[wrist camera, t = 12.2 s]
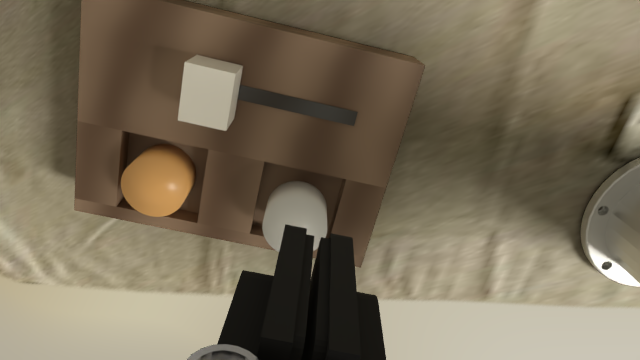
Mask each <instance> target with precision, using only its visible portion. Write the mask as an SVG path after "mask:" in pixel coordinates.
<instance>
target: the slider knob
mask: <svg viewBox="0 0 640 360" xmlns="http://www.w3.org/2000/svg"><path fill="white" fill-rule="evenodd" d="M242 70H243V66H242V65H238V64H234V63H230V62H225V61H221V60H217V59H213V58H208V57H204V56H200V55H196V56H194V57H192V58H191V59H189V60H187V61H185V63H184V71H183V79H182V88H181V96H180V104H179V113H178V121H183V122H187V123H192V124H196V125H201V126H205V127H210V128H214V129H219V130H223V131H227V129H228V127H229V126H230V124H231V123H232V121H233V119H234V117H235V111H236V105H237V99H238V93H239V87H240V81H241V75H242Z"/></svg>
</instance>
